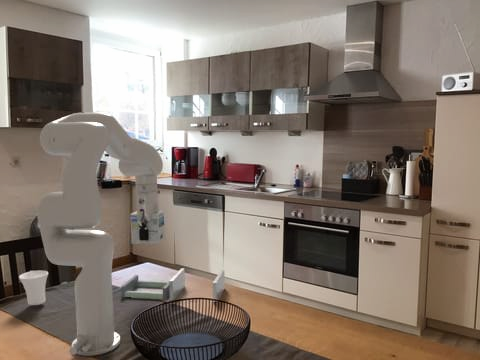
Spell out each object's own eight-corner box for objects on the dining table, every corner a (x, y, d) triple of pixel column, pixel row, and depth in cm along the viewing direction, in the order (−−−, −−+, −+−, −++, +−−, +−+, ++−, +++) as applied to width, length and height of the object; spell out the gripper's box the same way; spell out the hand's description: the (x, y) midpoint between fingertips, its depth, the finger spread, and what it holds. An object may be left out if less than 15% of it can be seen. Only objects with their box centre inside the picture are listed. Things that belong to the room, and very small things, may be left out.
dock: (166, 299, 148) (165, 288, 148) (121, 297, 151) (121, 286, 151) (177, 287, 161) (176, 276, 160) (135, 285, 163) (135, 275, 163)
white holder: (216, 303, 145) (216, 282, 144) (169, 300, 147) (169, 280, 147) (224, 288, 158) (224, 270, 158) (181, 286, 161) (181, 268, 160)
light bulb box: (165, 239, 157) (164, 210, 156) (160, 244, 150) (159, 214, 149) (137, 239, 158) (136, 210, 157) (130, 244, 151) (129, 213, 150)
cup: (47, 295, 151) (45, 267, 150) (52, 303, 143) (50, 274, 142) (19, 300, 146) (17, 272, 145) (22, 309, 138) (20, 279, 137)
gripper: (147, 191, 143) (149, 243, 144) (164, 185, 160) (166, 232, 162) (126, 191, 144) (128, 243, 146) (145, 185, 161) (147, 232, 163)
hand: (148, 237), depth 154 cm, fingers closed on light bulb box, 7 cm apart
